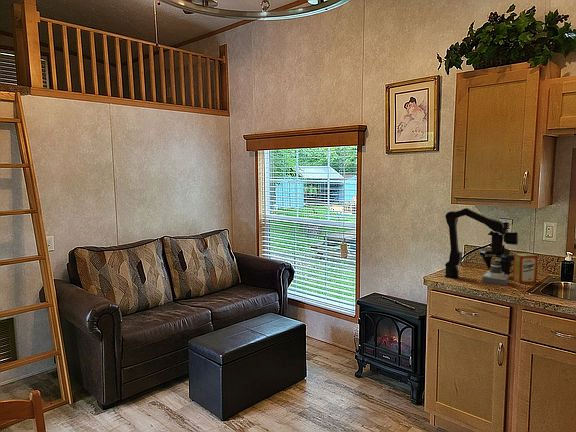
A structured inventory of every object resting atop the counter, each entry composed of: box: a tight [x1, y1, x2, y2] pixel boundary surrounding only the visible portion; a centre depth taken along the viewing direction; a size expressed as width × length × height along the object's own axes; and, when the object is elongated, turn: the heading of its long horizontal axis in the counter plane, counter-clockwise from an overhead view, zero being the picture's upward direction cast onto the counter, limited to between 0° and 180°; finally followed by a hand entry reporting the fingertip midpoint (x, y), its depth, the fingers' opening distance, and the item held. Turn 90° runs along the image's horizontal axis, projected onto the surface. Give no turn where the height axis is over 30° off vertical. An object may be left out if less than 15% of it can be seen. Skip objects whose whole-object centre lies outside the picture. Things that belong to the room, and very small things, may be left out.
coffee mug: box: [494, 258, 514, 276], centre depth 245 cm, size 12×9×10 cm
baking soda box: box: [512, 253, 539, 284], centre depth 234 cm, size 10×6×16 cm
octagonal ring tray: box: [481, 270, 510, 286], centre depth 234 cm, size 12×9×6 cm
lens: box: [490, 261, 501, 273], centre depth 234 cm, size 5×5×7 cm
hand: (495, 270), depth 234 cm, fingers open, 9 cm apart
